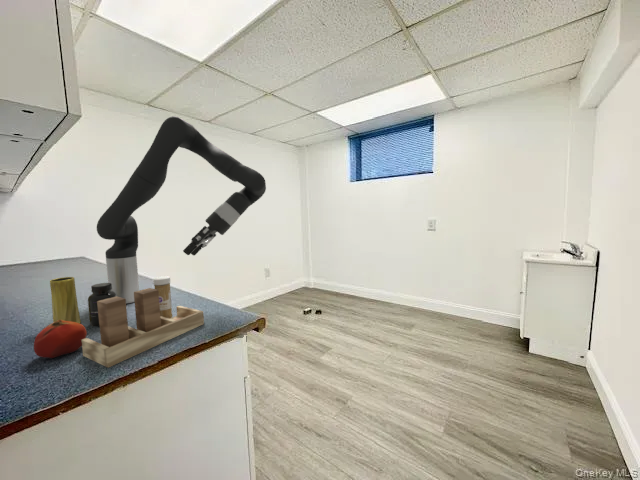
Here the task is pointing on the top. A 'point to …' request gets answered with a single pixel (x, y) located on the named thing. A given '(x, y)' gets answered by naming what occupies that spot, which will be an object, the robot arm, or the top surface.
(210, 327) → the top surface
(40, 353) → the tomato
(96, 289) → the supplement bottle
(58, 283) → the vase
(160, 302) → the spice jar
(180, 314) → the rail rack
